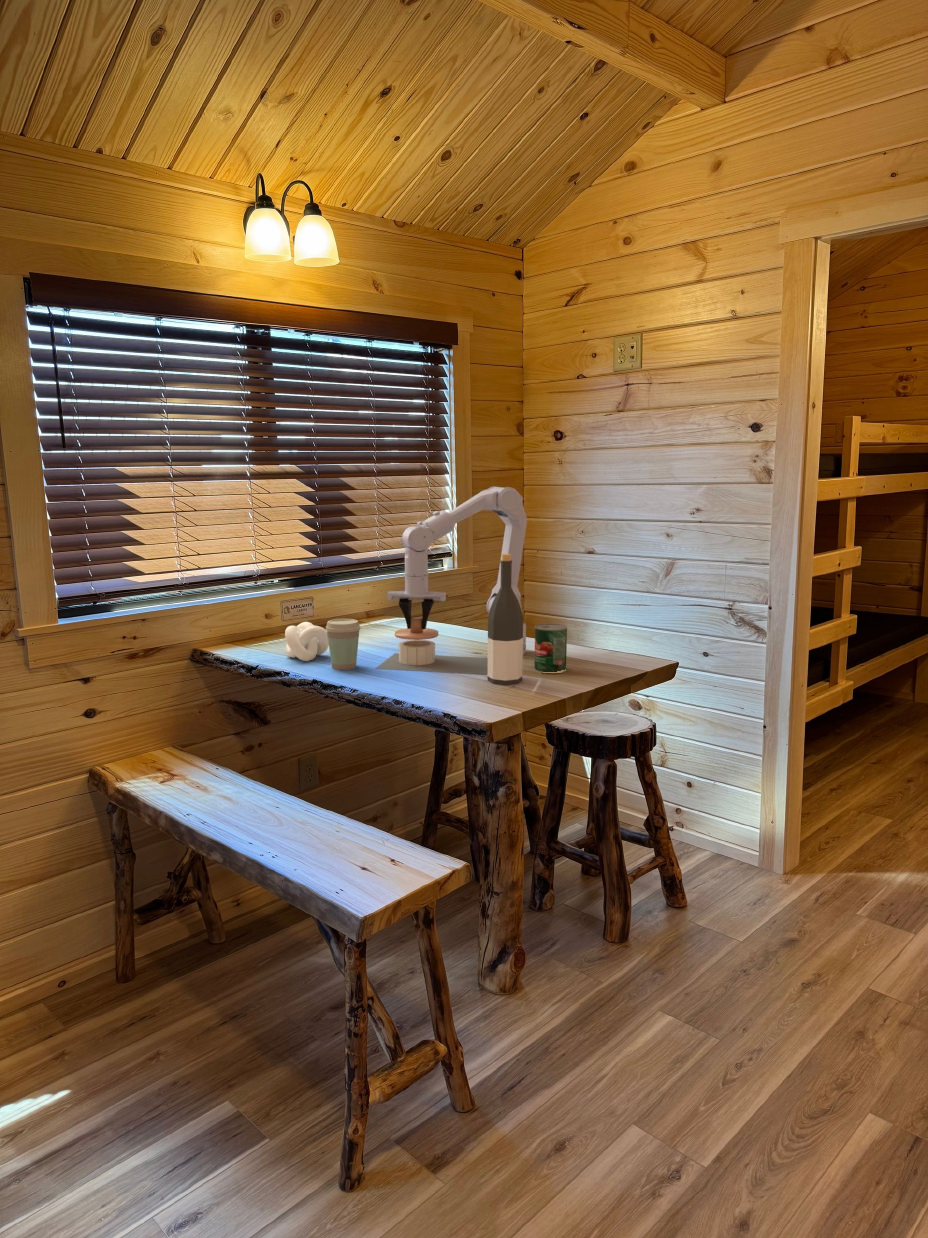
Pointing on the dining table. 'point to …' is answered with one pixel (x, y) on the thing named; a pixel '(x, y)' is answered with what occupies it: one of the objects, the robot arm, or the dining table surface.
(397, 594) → the robot arm
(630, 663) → the dining table surface
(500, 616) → the wine bottle
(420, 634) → the lid
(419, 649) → the bowl
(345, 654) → the coffee cup
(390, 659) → the mat
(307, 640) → the white knot sculpture
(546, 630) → the canned tomato
